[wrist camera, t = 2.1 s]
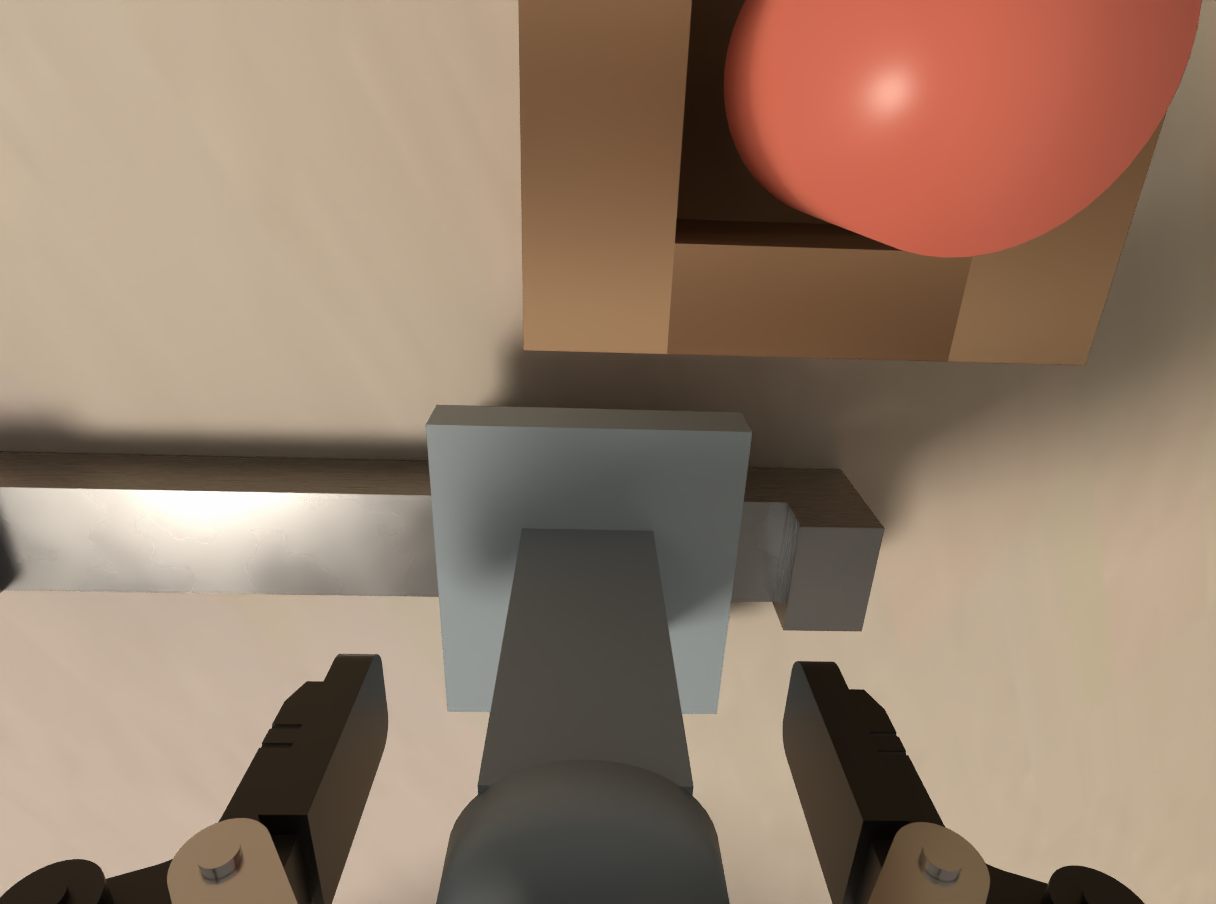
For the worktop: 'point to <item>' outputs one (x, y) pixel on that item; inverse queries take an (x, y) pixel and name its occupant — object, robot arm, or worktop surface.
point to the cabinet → (748, 221)
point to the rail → (364, 531)
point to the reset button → (950, 110)
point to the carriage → (585, 643)
